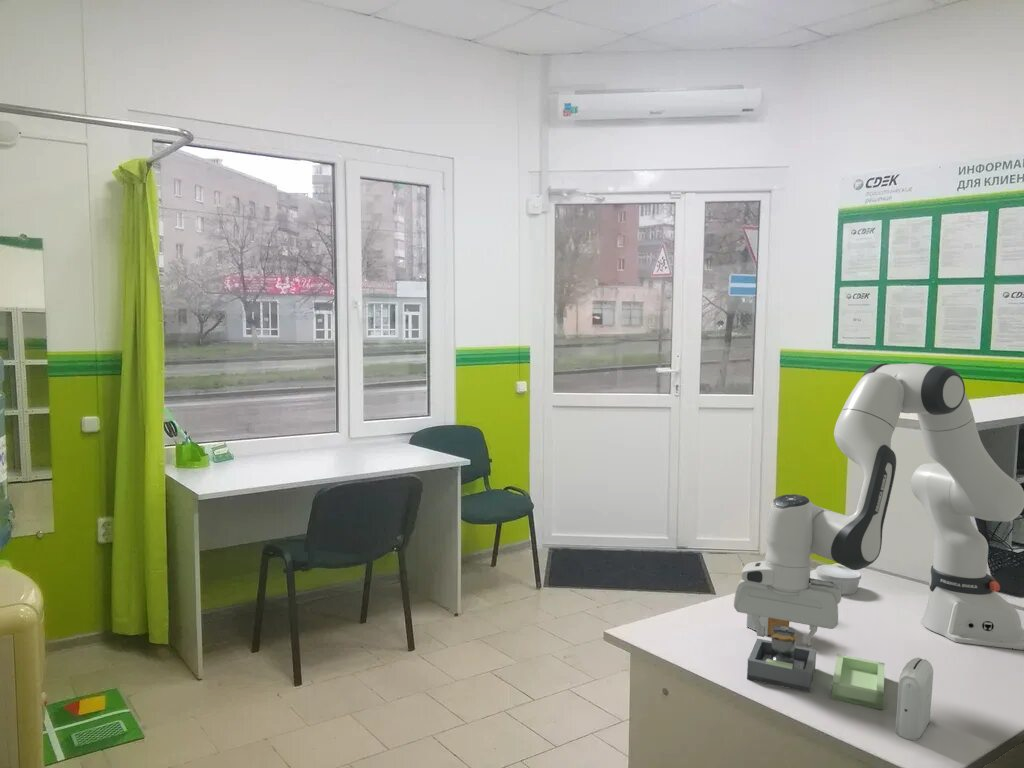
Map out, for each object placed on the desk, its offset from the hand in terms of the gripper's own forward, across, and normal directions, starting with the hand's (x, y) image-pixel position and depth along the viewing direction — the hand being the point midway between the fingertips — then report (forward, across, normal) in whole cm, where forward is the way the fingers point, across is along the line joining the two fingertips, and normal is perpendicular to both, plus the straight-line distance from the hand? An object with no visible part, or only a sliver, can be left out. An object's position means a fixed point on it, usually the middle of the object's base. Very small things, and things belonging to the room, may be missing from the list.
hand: (783, 639), depth 161 cm
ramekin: (+8, -7, -60) cm, 61 cm away
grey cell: (+5, 0, 0) cm, 5 cm away
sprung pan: (+6, 0, 0) cm, 6 cm away
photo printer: (+8, -24, +11) cm, 27 cm away
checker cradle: (+7, 0, 0) cm, 7 cm away
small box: (+8, +6, -23) cm, 25 cm away
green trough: (+7, -14, -1) cm, 16 cm away
